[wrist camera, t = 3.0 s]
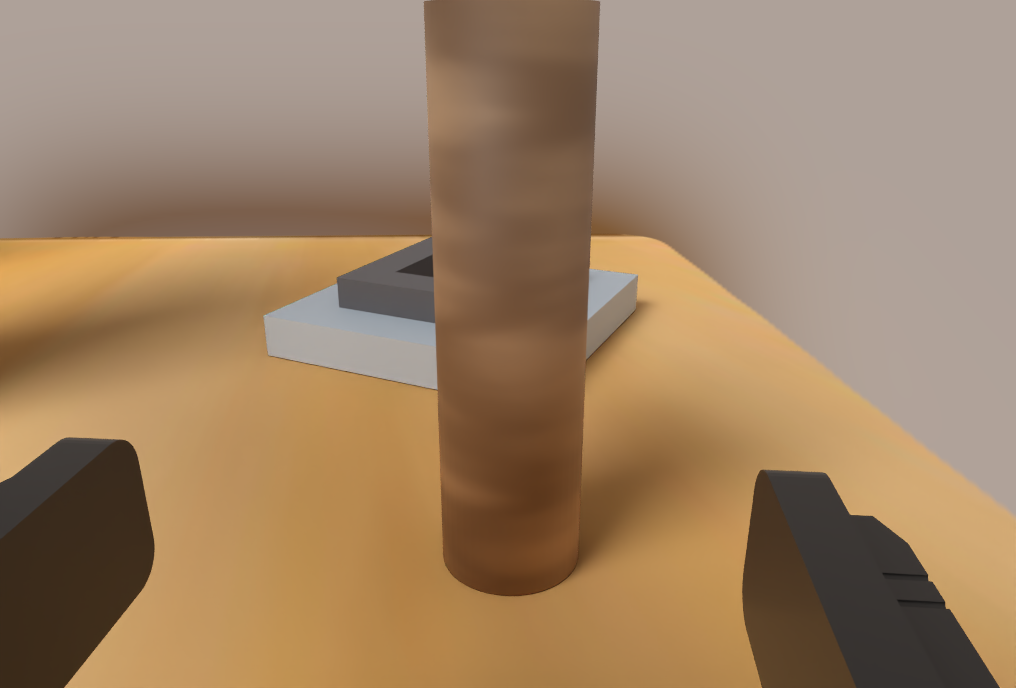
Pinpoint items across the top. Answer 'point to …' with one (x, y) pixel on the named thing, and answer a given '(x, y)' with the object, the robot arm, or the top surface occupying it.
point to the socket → (404, 318)
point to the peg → (511, 279)
